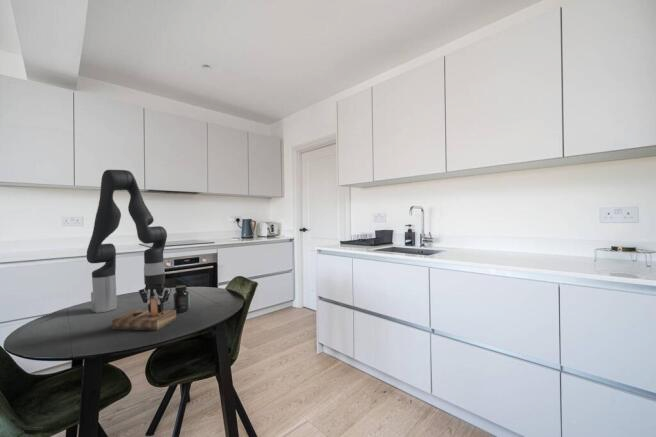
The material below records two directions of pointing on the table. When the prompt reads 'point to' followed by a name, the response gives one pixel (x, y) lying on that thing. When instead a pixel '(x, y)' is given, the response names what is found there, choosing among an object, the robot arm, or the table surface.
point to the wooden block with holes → (143, 320)
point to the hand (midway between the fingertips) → (156, 312)
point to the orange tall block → (154, 308)
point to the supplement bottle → (181, 299)
